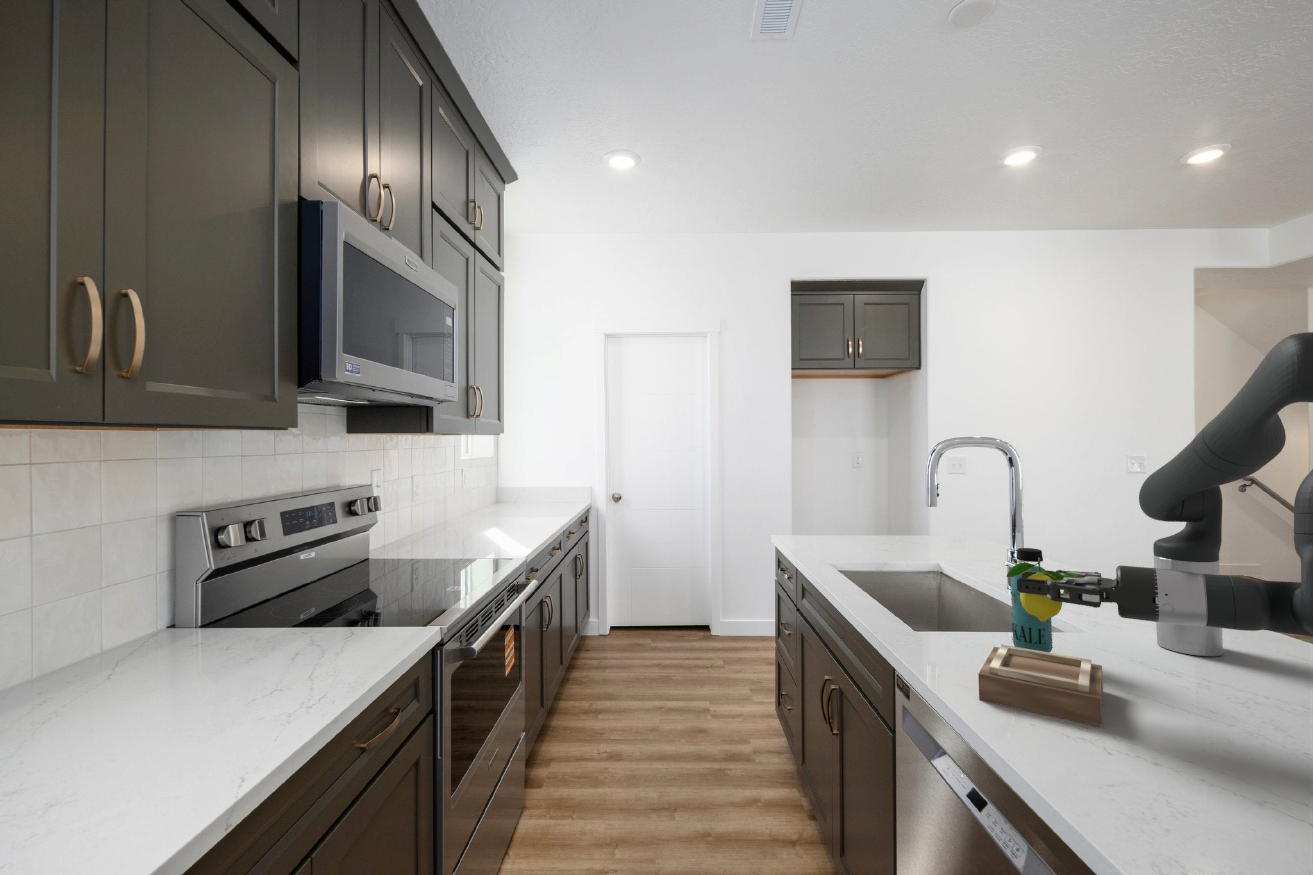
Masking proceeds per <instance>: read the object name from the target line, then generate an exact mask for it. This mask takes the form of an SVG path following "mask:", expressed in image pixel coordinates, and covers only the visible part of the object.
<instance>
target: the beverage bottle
mask: <svg viewBox="0 0 1313 875" xmlns="http://www.w3.org/2000/svg"><path fill="white" fill-rule="evenodd" d="M1038 558H1040V563H1042V562H1044V557H1043V551H1042V549H1040V548H1039V549H1038V548H1033V547H1020V548H1017V550H1016V560H1018V561H1021V562H1027V563H1030V562H1031V563H1038ZM1040 567H1041V568H1042V569H1043V570H1042V569H1040V571H1041V572H1044V573H1046V572H1045V571H1044V570H1046V569H1045V568H1044V567H1042V566H1040ZM1029 571H1033V572H1039V569H1038V565H1035V566H1034V567H1033V568H1032V569H1030V570H1029ZM1010 578H1011V579H1010V580H1011V581H1010V587H1011V588H1010V595H1011V596H1010V600H1011V607H1010V608H1011V612H1010V613H1011V631H1012V636H1011V638H1012V640H1011V641H1012V643H1013V647H1019V648H1025V649H1031V650H1037V651H1043V652H1048V653H1052V651H1053V647H1054V646H1053V645H1054V643H1053V642H1054V641H1053V637H1054V636H1053V635H1054V634H1053V627H1052V626H1053V625H1052V624H1053V623H1052V617H1051V618H1048V619H1047V620H1046V621H1045V622H1042V621H1040V620H1039V619H1038V618H1037V617H1035V616H1033V615H1031V614H1029V613H1028V612H1027V611H1026V610H1025V609H1024V608H1023V606H1022V603H1021V599H1020V592H1019V591H1018V590H1017V580H1018V578H1022V574H1020V575H1017V576H1014V577H1010Z"/></svg>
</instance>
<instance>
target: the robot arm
mask: <svg viewBox="0 0 1313 875" xmlns="http://www.w3.org/2000/svg"><path fill="white" fill-rule="evenodd" d="M1295 403H1313V332H1312V331H1311V332H1310V331H1309V332H1308V331H1307V332H1299V333H1294V334H1291V335H1288V336H1286V337H1284V338H1283V339H1282V340H1280V341H1279V342H1277V343H1276V344H1275V345H1274V346H1273V347H1272V348H1271V349H1270V350H1269V352H1267V354H1266V356H1264V358H1263V359H1262V361H1261V362H1260V363H1259V364H1258V366H1257V367H1256V368H1255V370H1254V372H1253V373H1252V374H1251V376H1249V378H1248V380H1247V381H1246V382H1245V384H1244V385H1243V386H1242V388H1240V390H1239V391H1238V392H1237V394H1235V396H1234V397H1233V398H1232V399H1231V400H1230V401H1229V402H1228V404H1227V405H1226V406H1225V407H1224V408H1223V409H1222V410H1221V411H1220V412H1219V413H1218V414H1217V415H1216V416H1215V417H1213V419H1211V420H1210V421H1209V422H1208V423H1207V424H1206V425H1205V426H1204V427H1203V428H1202V429H1201V430H1200V431H1199V432H1198V433H1197V434H1196V436H1195V437H1194V438H1193V439H1191V441H1190V442H1189V443H1188V444H1187V445H1186V446H1185V447H1184V448H1183V449H1182V450H1181V451H1180V452H1178V453H1177V455H1175V456H1174V457H1173V458H1172V459H1171V460H1169V461H1168V462H1166V463H1165V464H1164V465H1163V466H1161V467H1160V468H1158V469H1157V470H1155V471H1154V472H1152V473H1151V474H1150V475H1148V476H1147V478H1146V479H1144V481H1143V483H1142V484H1141V487H1140V490H1139V492H1138V493H1139V494H1138V503H1139V504H1138V505H1139V506H1140V510H1142V512H1143V513H1144V514H1145V516H1146V517H1149V518H1150V519H1153V520H1156V521H1160V522H1169V523H1171V522H1173V523H1174V522H1176V523H1185V526H1184V527H1183V529H1180V531H1178V532H1176V533H1175V534H1171V535H1169V536H1166V537H1165V536H1164V537H1163V538H1162V537H1161V538H1158V539H1156V540H1155V541H1154V542H1153V545H1152V546H1153V547H1152V548H1153V552H1152V553H1153V567H1145V566H1143V567H1142V566H1135V565H1134V566H1132V565H1118V566H1116V572H1115V574H1116V575H1115V576H1116V577H1115V578H1113V579H1112V578H1108V577H1103V576H1102V573H1101V572H1098V571H1094V572H1093V571H1076V570H1075V571H1074V570H1062V569H1058V570H1055V572H1058V573H1060V574H1061V575H1062V576H1064V577H1065V578H1063V580H1055V579H1053V578H1052V577H1051V576H1049V575H1048V574H1047V573H1044V572H1042V573H1043V574H1044V575H1047V576H1049V577H1051V578H1052V579H1053V580H1040V579H1030V578H1028V577H1029V576H1031V575H1033V574H1036V573H1037V572H1033V571H1027V572H1025V573H1022V578H1018V580H1017V590H1018V591H1019V592H1020V593H1028V594H1037V595H1046V594H1047V597H1049V598H1051V600H1052V601H1055V602H1062V603H1065V604H1071V605H1078V606H1086V607H1090V608H1091V607H1092V608H1095V609H1097V608H1101V606H1102V603H1108V604H1109V603H1111V604H1112V603H1115V604H1116V605H1117V613H1118V615H1119V618H1123V619H1129V620H1130V619H1131V620H1138V621H1148V622H1153V623H1155V625H1156V627H1155V628H1156V643H1157V645H1158V646H1160V647H1162V648H1163V649H1166V650H1170V651H1174V652H1175V653H1176V652H1177V653H1180V654H1187V655H1192V656H1193V655H1194V656H1201V657H1220V656H1222V655H1223V654H1224V646H1223V642H1224V641H1223V629H1227V630H1236V631H1250V632H1253V631H1254V632H1256V631H1269V632H1276V633H1283V634H1290V635H1296V636H1297V635H1298V636H1305V637H1310V638H1313V468H1312V469H1311V470H1310V472H1309V473H1308V474H1306V476H1305V477H1304V478H1303V479H1302V481H1301V483H1300V484H1299V487H1298V489H1297V491H1296V494H1295V497H1294V504H1293V534H1294V535H1293V543H1294V544H1293V545H1294V550H1295V552H1296V554H1297V556H1298V557H1299V558H1300V581H1283V580H1282V581H1280V580H1257V579H1252V578H1247V577H1241V576H1233V575H1224V574H1223V575H1221V574H1220V550H1221V547H1222V536H1223V535H1222V532H1223V531H1222V530H1223V529H1222V527H1223V525H1222V524H1223V494H1222V493H1223V492H1222V491H1221V487H1220V486H1222V485H1226V484H1230V483H1233V482H1236V481H1240V480H1242V479H1245V478H1247V477H1249V476H1252V475H1253V474H1255V473H1256V472H1258V471H1259V470H1261V469H1262V468H1263V467H1264V466H1266V465H1268V463H1270V462H1272V461H1273V460H1275V458H1276V457H1277V456H1278V455H1279V454H1280V453H1281V452H1282V451H1283V449H1284V447H1285V444H1286V440H1287V436H1286V435H1287V434H1286V429H1285V427H1284V423H1283V422H1282V418H1281V417H1280V415H1279V412H1280V411H1282V410H1283V409H1284V408H1285V407H1288V406H1289V405H1292V404H1295ZM1060 591H1063V592H1061V593H1060Z"/></svg>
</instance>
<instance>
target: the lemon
mask: <svg viewBox="0 0 1313 875" xmlns="http://www.w3.org/2000/svg"><path fill="white" fill-rule="evenodd" d="M1034 566H1038V569H1039V572H1037V573H1036V574H1033V575H1031V576H1029V577H1028V578H1030V579H1040V580H1053V579H1055V580H1063V578H1065V577H1064V576H1062V575H1061V574H1060V573H1058V572H1056V570H1046V569H1045V570H1044V571H1045V572H1046V573H1047V574H1048V575H1049V576H1051V577H1052V578H1053V579H1052V578H1051V577H1049V576H1047V575H1044V574H1043V573H1042V572H1041V571H1040V569H1042V568H1043V567H1042V566H1041V562H1040V558H1038V562H1036V563H1035V564H1034V563H1030V562H1019V563H1016V564H1015V565H1013V566H1012V567H1011V568H1010V570H1008V572H1007V574H1006V576H1005V577H1006V578H1008V577H1009V578H1011V577H1014V576H1017V575H1020V574H1022V573H1025V572H1027V571H1029V570H1030V569H1032V568H1033V567H1034ZM1041 567H1042V568H1041ZM1042 570H1043V569H1042ZM1060 593H1062V590H1060ZM1020 599H1021V603H1022V606H1023V608H1024V609H1025V610H1026V611H1027V612H1028V613H1029V614H1031V615H1033V616H1035V617H1037V618H1038V619H1039V620H1040V621H1042V622H1045V621H1046V620H1047V619H1048V618H1051V619H1052V618H1053V617H1055V616H1058V614H1059V613H1061V612H1060V611H1062V610H1061V609H1062V607H1063V602H1055V601H1052V600H1051V598H1049V597H1047V594H1046V595H1037V594H1028V593H1020Z"/></svg>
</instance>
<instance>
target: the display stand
mask: <svg viewBox="0 0 1313 875" xmlns="http://www.w3.org/2000/svg"><path fill="white" fill-rule="evenodd" d="M977 675H978V677H977V678H978V700H980V701H983V702H986V703H987V702H988V703H992V704H996V705H1001V706H1005V707H1010V708H1013V709H1017V710H1018V709H1019V710H1023V711H1028V712H1032V713H1035V714H1036V713H1037V714H1040V715H1044V716H1049V717H1054V718H1058V719H1062V720H1067V721H1070V722H1071V721H1072V722H1075V723H1081V724H1085V725H1088V726H1092V727H1098V728H1102V720H1103V719H1102V718H1103V717H1102V716H1103V715H1102V714H1103V698H1104V695H1103V694H1104V684H1103V682H1104V681H1103V665H1102V664H1096V663H1092V659H1088V658H1082V657H1077V656H1071V655H1065V654H1059V653H1053V652H1049V653H1048V652H1043V651H1037V650H1031V649H1025V648H1019V647H1015V646H1014V645H1013V646H1012V645H1007V644H1001V645H1000V646H998V647H997V646H993V647H992V649H991V651H990V654H988V657H987V658H986V660H985V662H984V663H983V665H982V666H981V669H980V670H979V672H978V673H977Z"/></svg>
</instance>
